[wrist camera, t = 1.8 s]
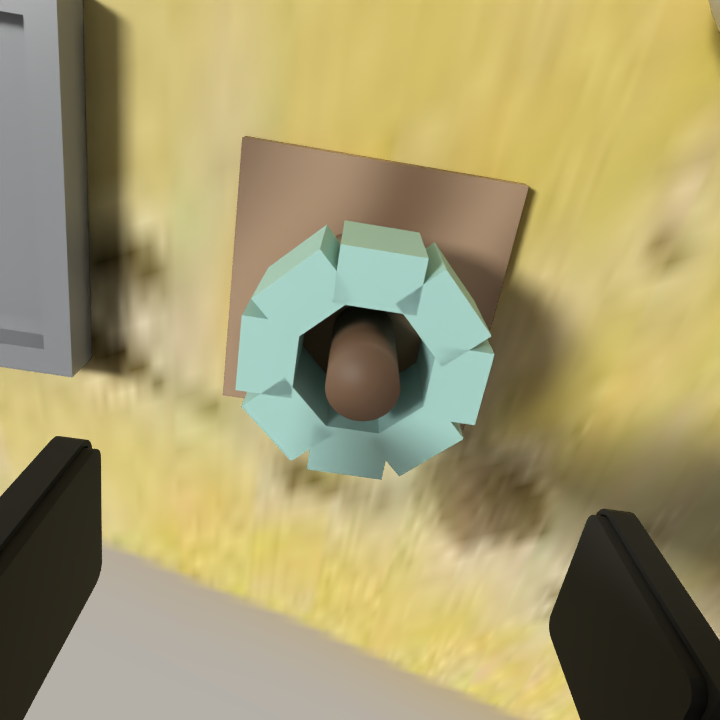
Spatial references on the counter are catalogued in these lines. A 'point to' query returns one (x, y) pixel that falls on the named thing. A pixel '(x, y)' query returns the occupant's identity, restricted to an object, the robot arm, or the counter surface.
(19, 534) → the robot arm
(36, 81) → the tray
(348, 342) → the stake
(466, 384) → the ring
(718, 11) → the donut
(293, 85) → the counter surface
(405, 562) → the counter surface
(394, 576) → the counter surface
